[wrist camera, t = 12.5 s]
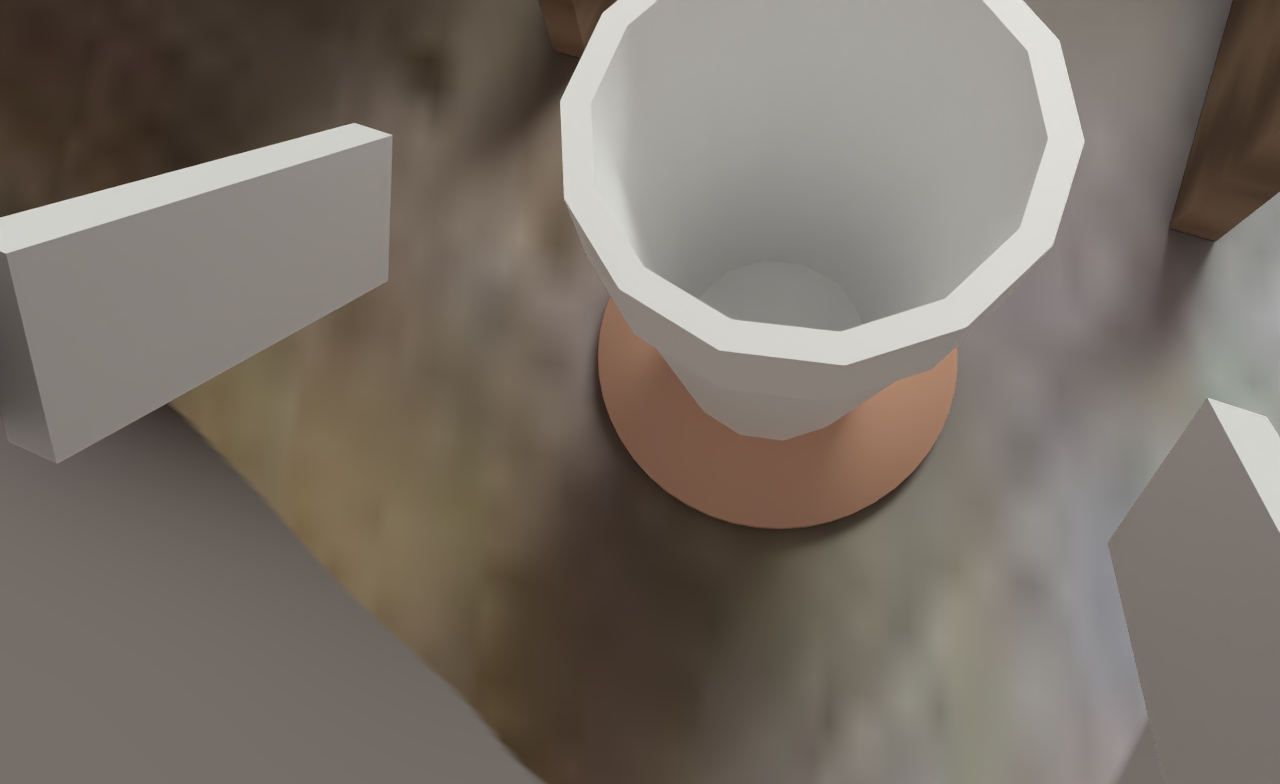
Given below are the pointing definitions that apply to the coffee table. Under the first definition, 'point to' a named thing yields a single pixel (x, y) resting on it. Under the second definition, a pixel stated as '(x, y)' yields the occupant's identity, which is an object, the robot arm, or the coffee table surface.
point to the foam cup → (814, 187)
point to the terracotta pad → (766, 441)
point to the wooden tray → (1226, 134)
